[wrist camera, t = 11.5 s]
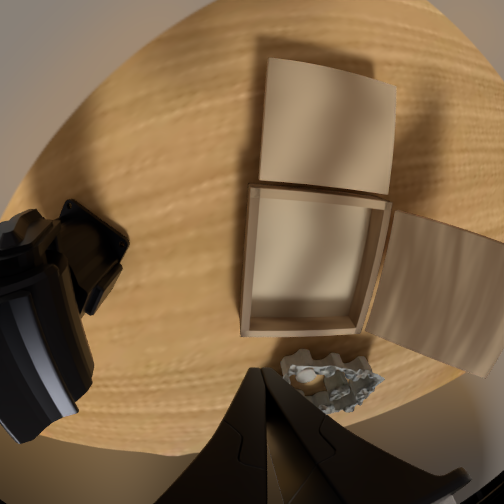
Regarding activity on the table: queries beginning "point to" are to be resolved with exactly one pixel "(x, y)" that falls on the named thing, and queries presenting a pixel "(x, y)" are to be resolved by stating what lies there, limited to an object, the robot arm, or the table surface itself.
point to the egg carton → (333, 379)
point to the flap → (442, 293)
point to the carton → (317, 202)
